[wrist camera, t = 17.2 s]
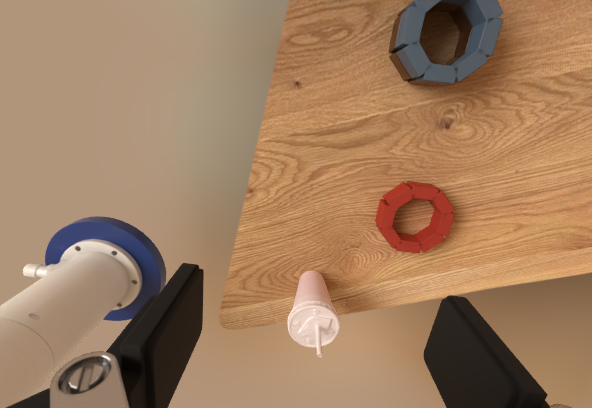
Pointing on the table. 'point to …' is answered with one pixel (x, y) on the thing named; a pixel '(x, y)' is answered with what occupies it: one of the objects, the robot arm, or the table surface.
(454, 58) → the ring bottom
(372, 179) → the table surface
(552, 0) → the table surface
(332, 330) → the smoothie
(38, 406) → the robot arm
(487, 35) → the ring middle
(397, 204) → the ring top
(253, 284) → the table surface
